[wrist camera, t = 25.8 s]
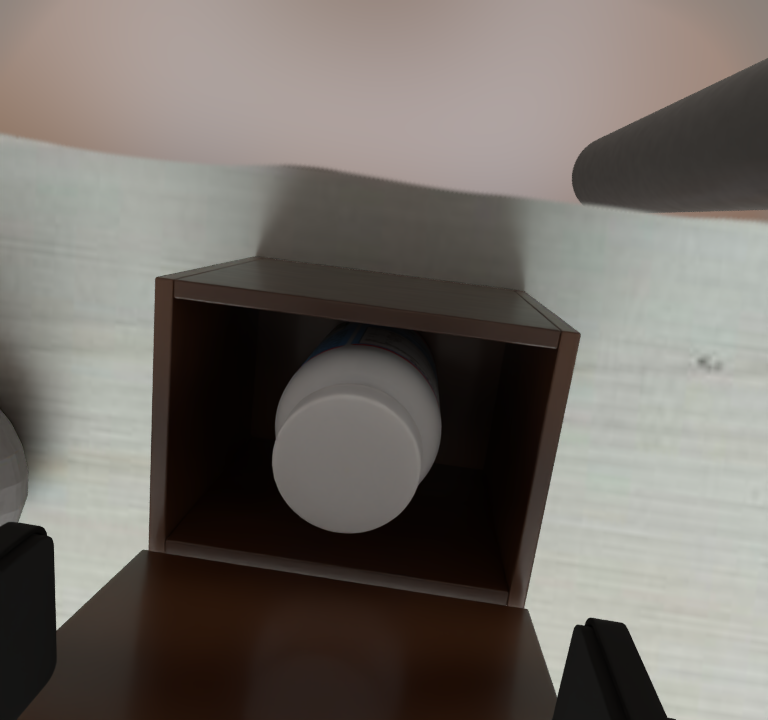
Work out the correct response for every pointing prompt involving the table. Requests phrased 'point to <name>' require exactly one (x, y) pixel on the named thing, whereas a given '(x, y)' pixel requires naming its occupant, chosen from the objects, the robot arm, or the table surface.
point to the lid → (288, 651)
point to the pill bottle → (358, 427)
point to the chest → (276, 368)
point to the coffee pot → (11, 473)
